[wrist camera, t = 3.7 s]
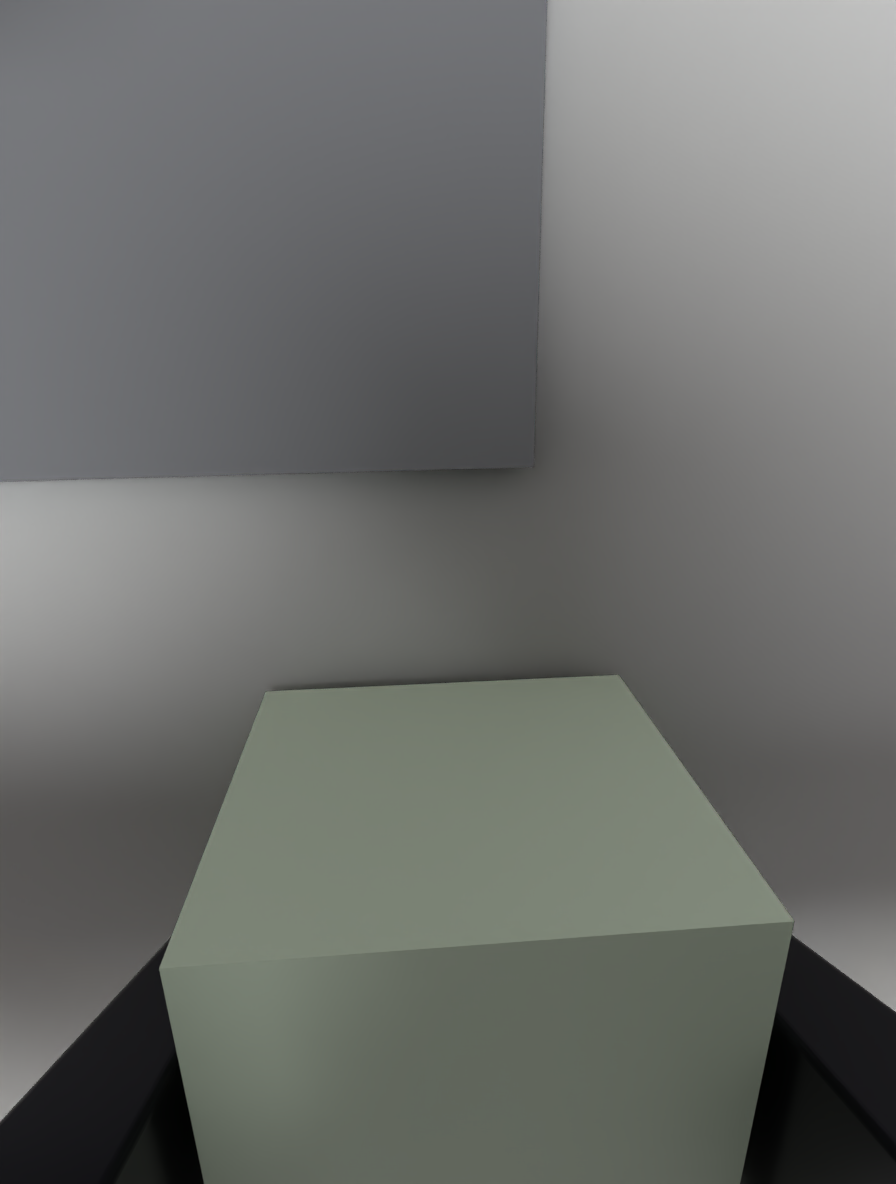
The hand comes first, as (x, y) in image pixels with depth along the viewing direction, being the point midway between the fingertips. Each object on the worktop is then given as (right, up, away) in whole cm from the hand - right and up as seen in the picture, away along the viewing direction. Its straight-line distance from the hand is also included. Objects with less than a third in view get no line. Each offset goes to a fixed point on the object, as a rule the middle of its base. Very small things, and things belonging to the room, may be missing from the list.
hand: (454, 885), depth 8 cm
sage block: (0, 0, +1) cm, 1 cm away
